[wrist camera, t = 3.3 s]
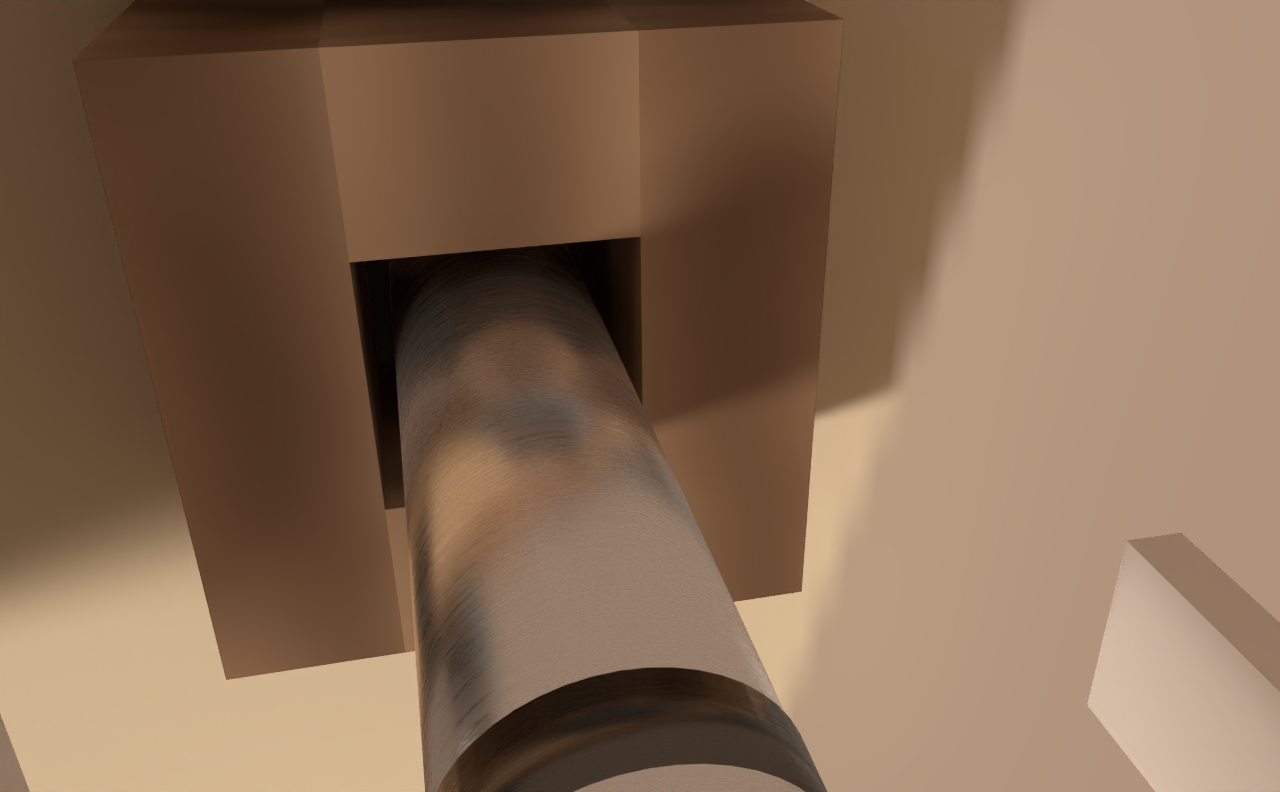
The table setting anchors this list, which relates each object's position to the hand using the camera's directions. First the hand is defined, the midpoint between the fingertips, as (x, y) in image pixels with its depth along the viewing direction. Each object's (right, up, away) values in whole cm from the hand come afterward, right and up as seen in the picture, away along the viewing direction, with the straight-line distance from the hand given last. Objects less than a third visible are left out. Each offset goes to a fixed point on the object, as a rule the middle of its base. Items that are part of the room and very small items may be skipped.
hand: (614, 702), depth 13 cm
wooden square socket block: (-3, +7, +12) cm, 14 cm away
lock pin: (-3, +7, +12) cm, 14 cm away
